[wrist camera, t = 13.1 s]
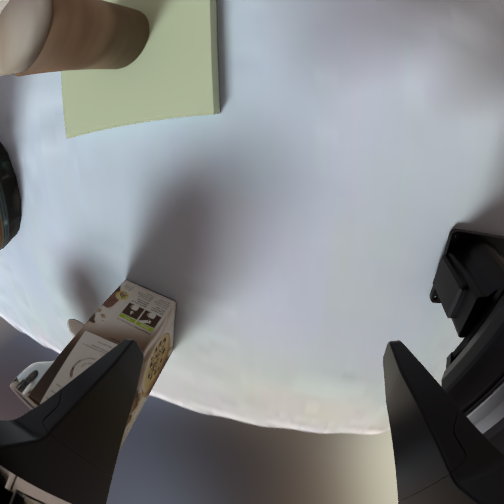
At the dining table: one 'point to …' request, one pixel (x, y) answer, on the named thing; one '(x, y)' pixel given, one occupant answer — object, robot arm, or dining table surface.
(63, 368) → the coffee box
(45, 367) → the wine glass
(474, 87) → the dining table surface
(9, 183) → the beer stein
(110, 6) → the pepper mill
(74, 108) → the serving board
